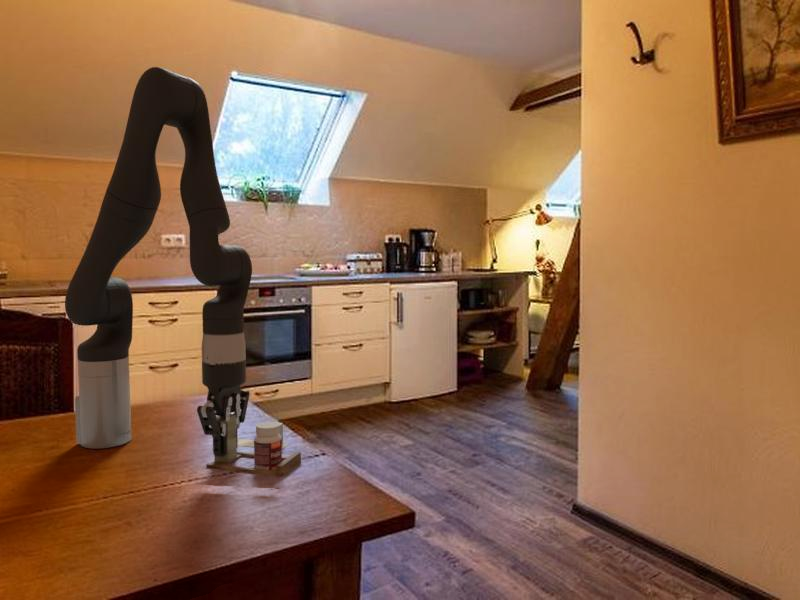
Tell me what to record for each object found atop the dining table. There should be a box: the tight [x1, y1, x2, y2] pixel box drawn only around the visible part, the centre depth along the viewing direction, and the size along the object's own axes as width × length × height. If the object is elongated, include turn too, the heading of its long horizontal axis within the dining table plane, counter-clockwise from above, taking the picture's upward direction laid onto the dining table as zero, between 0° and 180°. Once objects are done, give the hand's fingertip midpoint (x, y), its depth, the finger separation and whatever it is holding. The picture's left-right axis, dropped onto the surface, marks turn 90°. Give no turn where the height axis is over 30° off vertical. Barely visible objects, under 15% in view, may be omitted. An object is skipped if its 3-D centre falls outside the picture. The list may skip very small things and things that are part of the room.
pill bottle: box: [253, 421, 283, 471], centre depth 106 cm, size 5×5×8 cm
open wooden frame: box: [205, 414, 302, 477], centre depth 107 cm, size 14×8×9 cm, turn 74°
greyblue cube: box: [255, 421, 284, 444], centre depth 117 cm, size 4×4×4 cm
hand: (225, 452), depth 109 cm, fingers open, 3 cm apart
